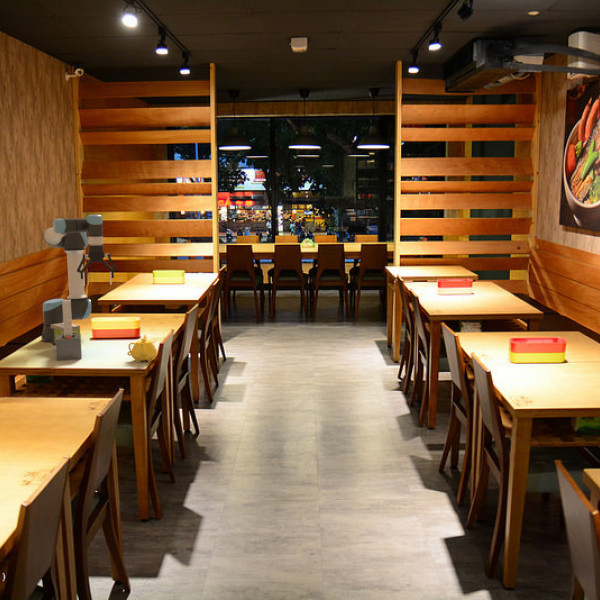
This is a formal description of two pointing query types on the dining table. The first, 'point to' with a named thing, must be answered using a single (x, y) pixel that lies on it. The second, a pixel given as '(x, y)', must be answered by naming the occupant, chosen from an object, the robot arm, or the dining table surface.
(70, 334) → the column
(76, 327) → the tea box
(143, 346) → the teapot
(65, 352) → the stand base
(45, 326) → the robot arm
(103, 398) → the dining table surface
